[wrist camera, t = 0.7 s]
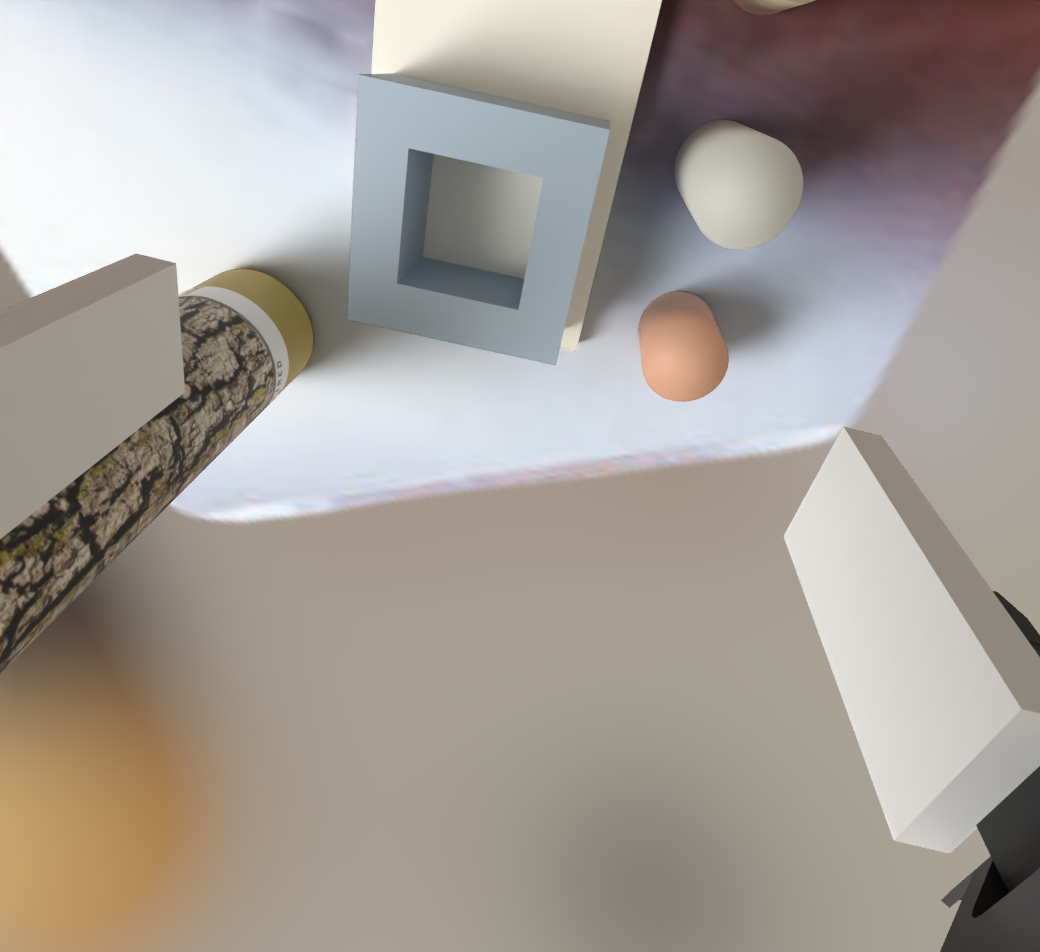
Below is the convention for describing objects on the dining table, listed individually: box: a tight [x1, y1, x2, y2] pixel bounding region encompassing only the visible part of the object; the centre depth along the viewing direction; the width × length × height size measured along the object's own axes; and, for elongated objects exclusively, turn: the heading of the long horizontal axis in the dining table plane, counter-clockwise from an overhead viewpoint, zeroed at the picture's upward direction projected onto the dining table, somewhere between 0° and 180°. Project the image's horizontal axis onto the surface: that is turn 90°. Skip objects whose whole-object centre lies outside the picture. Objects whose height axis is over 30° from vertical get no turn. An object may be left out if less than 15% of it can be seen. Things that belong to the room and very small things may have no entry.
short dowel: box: [638, 291, 729, 402], centre depth 34 cm, size 4×4×5 cm
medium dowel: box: [674, 120, 803, 250], centre depth 28 cm, size 4×4×8 cm
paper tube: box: [0, 269, 313, 673], centre depth 28 cm, size 7×7×25 cm
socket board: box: [347, 0, 662, 365], centre depth 30 cm, size 18×12×6 cm, turn 170°
